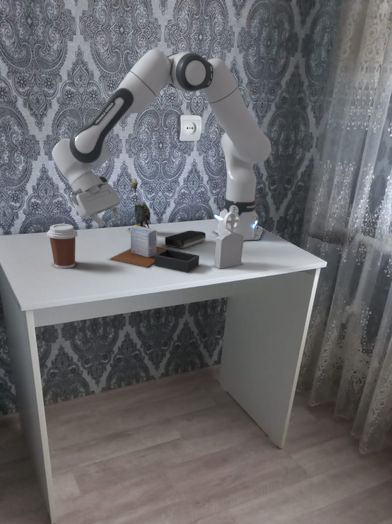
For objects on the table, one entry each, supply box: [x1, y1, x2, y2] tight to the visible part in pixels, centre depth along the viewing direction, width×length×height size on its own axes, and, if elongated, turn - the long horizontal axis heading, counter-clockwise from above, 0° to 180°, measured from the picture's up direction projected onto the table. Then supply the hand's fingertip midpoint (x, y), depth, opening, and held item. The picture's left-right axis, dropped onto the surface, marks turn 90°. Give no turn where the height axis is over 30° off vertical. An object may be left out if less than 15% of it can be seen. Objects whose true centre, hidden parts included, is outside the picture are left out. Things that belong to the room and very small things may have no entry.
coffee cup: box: [46, 223, 78, 269], centre depth 152 cm, size 9×9×12 cm
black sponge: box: [164, 230, 207, 249], centre depth 180 cm, size 16×8×4 cm, turn 143°
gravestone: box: [213, 210, 244, 269], centre depth 159 cm, size 3×9×18 cm, turn 127°
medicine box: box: [130, 226, 157, 258], centre depth 165 cm, size 8×4×9 cm, turn 56°
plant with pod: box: [128, 178, 152, 232], centre depth 187 cm, size 8×11×20 cm
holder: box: [153, 248, 200, 274], centre depth 159 cm, size 8×12×4 cm
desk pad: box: [109, 246, 171, 268], centre depth 167 cm, size 20×14×1 cm
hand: (111, 222), depth 168 cm, fingers open, 8 cm apart
